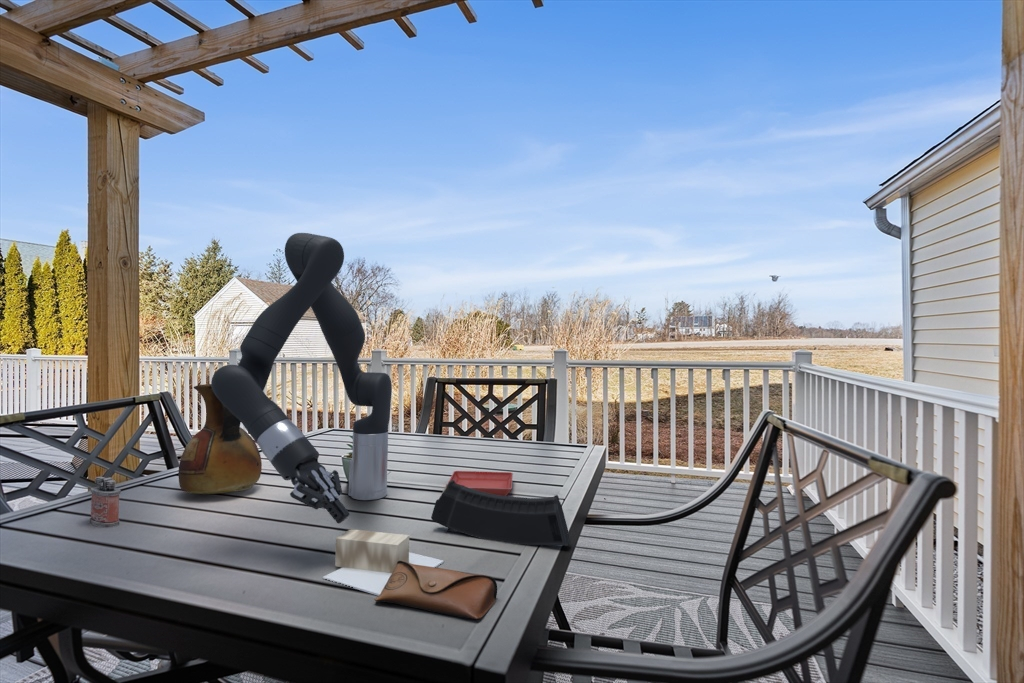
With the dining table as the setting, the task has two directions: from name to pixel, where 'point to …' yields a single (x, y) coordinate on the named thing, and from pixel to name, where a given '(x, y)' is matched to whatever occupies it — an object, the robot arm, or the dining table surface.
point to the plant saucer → (485, 481)
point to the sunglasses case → (440, 590)
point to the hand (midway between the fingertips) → (344, 519)
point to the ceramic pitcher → (219, 453)
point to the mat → (374, 575)
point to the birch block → (371, 550)
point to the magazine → (501, 516)
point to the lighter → (105, 503)
